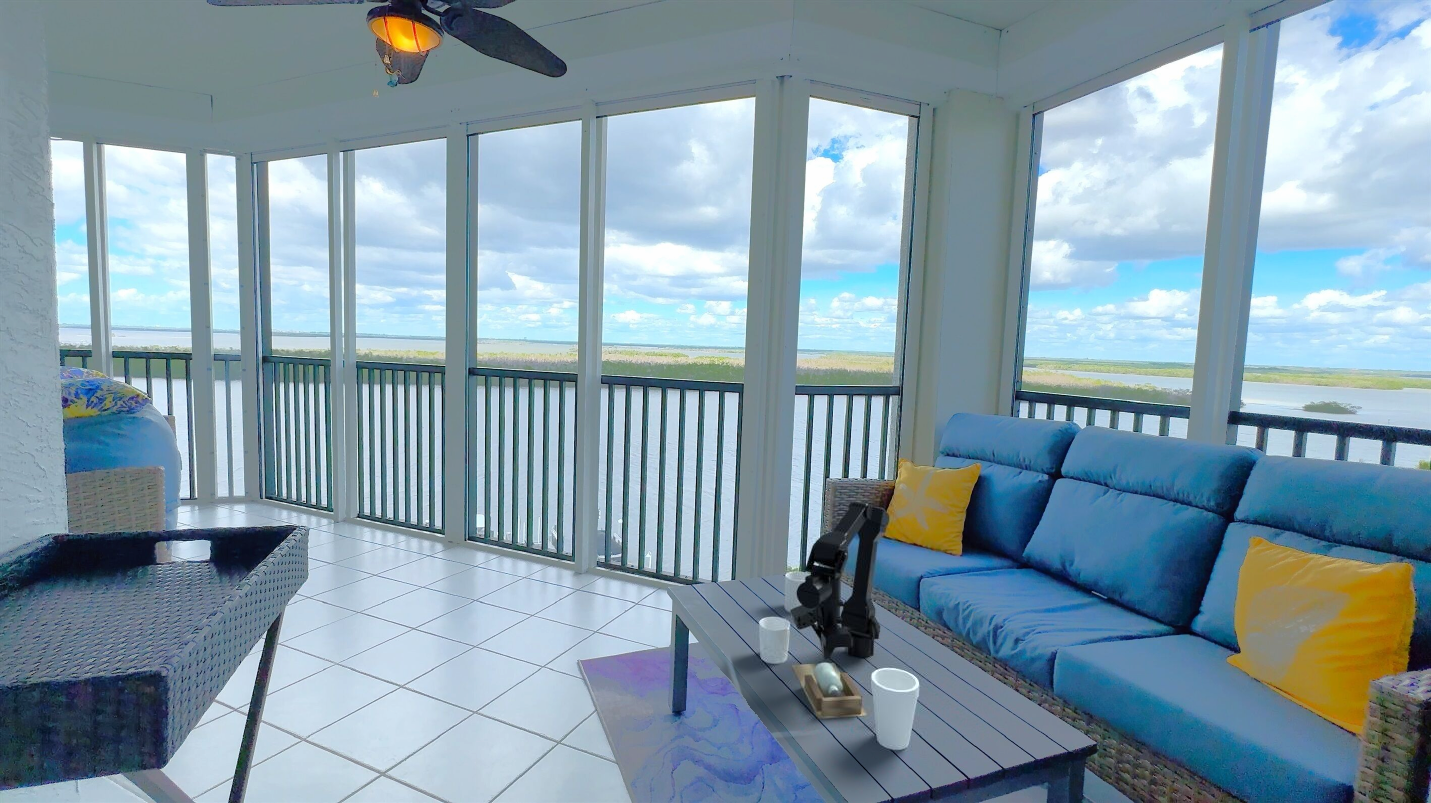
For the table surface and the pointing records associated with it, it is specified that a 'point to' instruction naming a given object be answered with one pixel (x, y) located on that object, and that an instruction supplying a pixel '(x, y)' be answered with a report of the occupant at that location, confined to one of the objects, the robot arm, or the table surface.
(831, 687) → the bottle
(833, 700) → the cradle board
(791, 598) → the mug
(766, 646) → the white cup
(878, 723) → the foam cup
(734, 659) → the table surface
